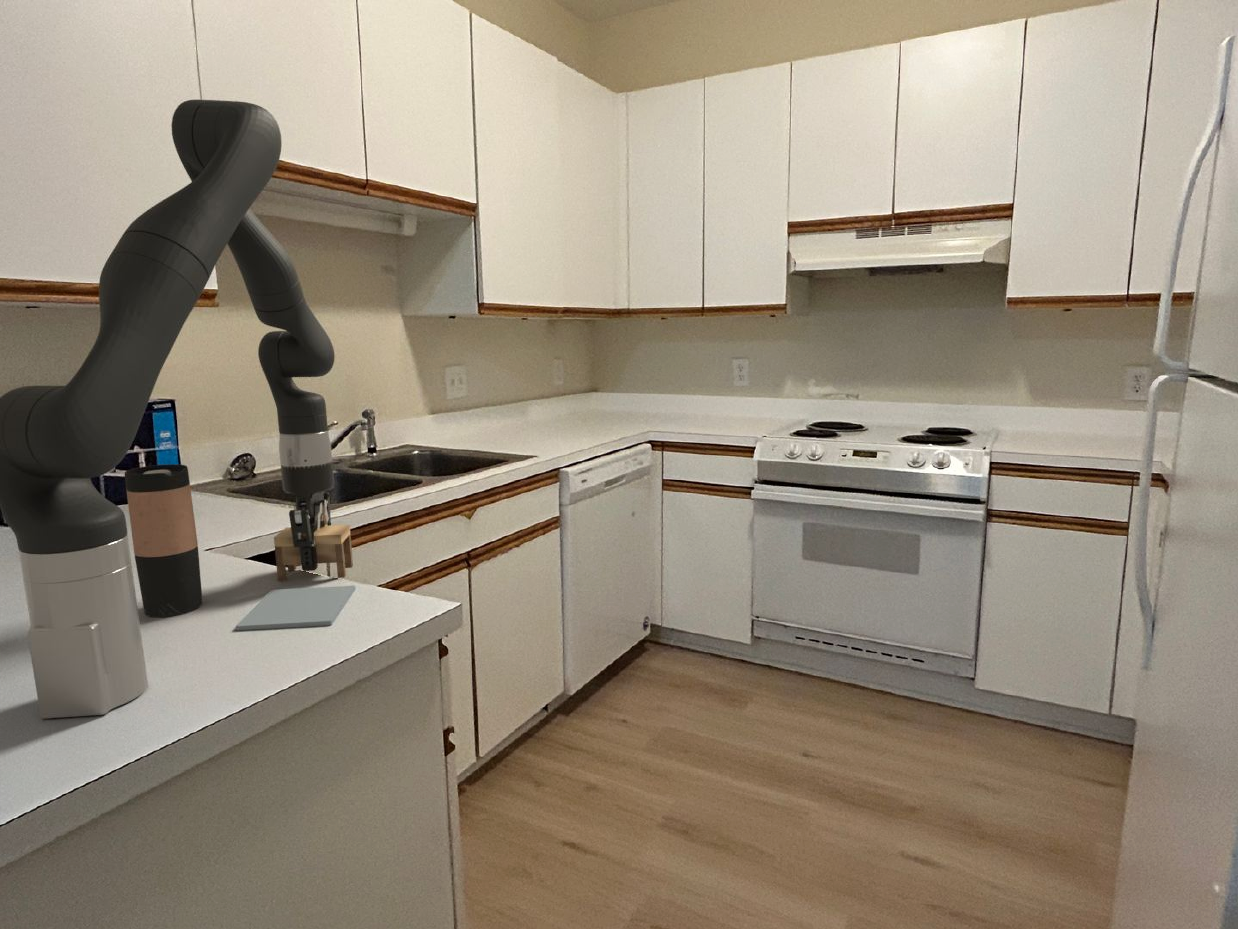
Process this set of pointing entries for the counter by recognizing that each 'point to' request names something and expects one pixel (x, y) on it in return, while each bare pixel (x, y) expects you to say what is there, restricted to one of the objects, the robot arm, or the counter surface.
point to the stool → (329, 549)
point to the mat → (297, 608)
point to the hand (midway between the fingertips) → (315, 563)
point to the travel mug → (164, 539)
